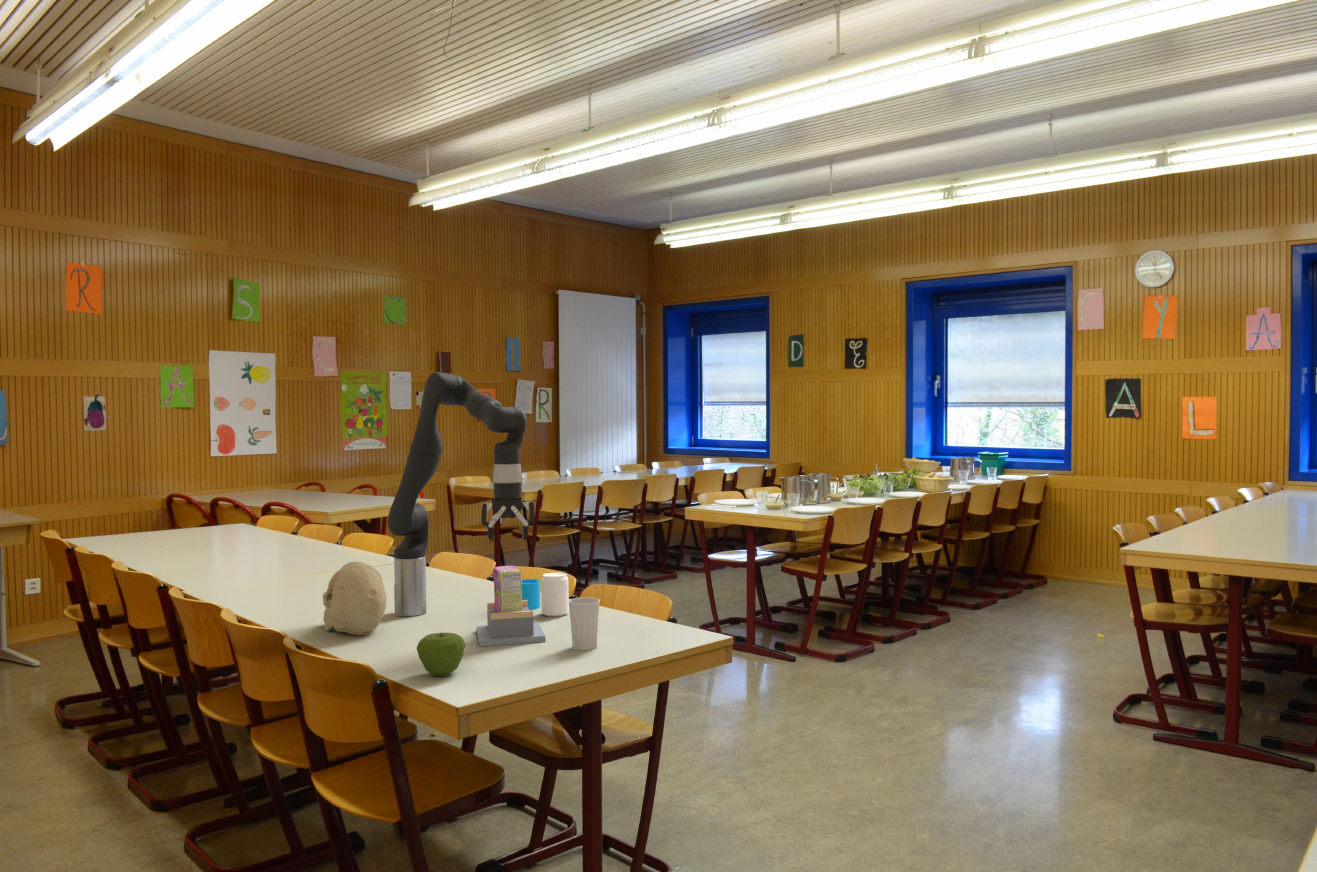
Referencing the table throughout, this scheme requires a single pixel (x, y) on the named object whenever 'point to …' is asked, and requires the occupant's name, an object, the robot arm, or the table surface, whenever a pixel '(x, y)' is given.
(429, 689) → the table surface
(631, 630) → the table surface
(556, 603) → the beverage can
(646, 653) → the table surface
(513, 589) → the box
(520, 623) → the display stand
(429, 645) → the apple
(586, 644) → the cup
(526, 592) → the mug
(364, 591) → the skull
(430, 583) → the table surface
